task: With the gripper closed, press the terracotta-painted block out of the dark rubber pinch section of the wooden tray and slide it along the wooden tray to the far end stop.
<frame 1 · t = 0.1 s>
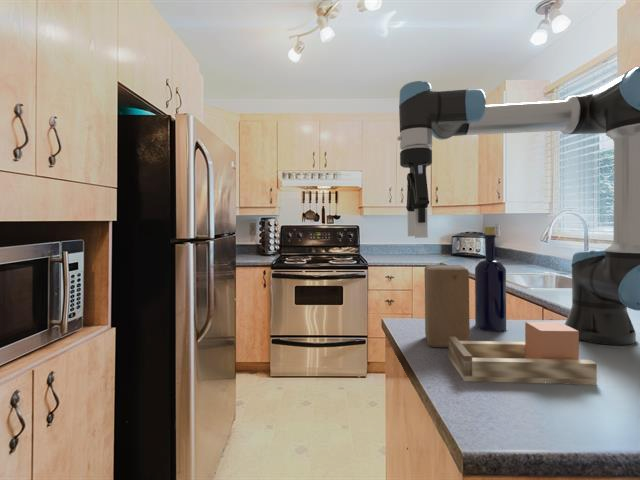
hand: (416, 237, 90), 28 cm above the table, fingers open, 13 cm apart
wooden tray: (515, 369, 77), on the table
terracotta block: (550, 345, 76), point 5 cm above the table, slide at 0.0 cm
wooden block: (446, 343, 96), on the table
bottle: (490, 328, 109), on the table
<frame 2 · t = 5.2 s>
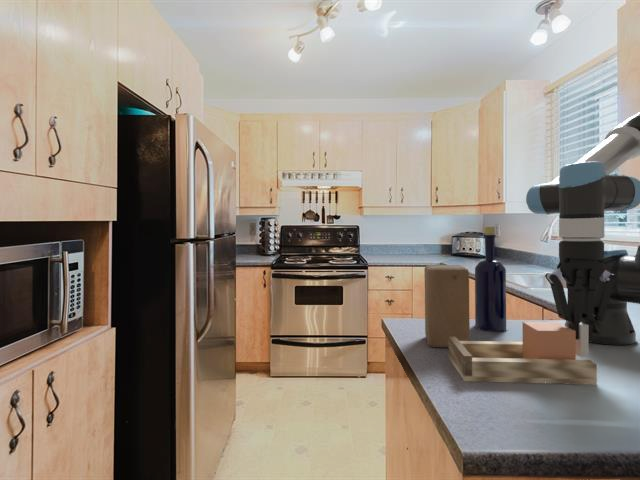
hand: (580, 354, 75), 4 cm above the table, fingers closed
terracotta block: (547, 345, 76), point 5 cm above the table, slide at 0.6 cm, touching gripper
everything else where it was.
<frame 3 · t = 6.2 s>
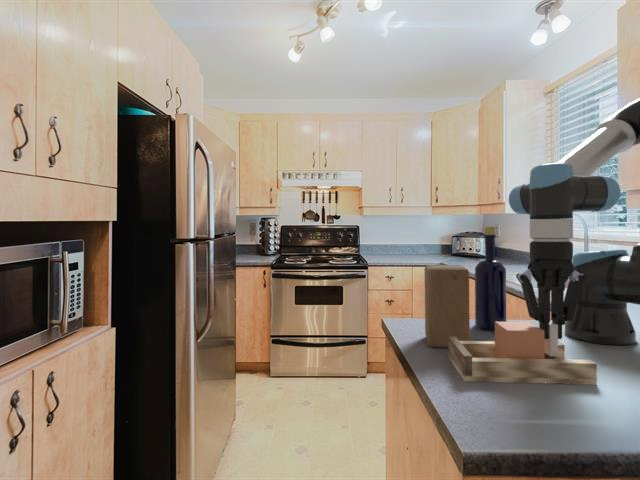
hand: (550, 354, 76), 4 cm above the table, fingers closed
terracotta block: (518, 344, 77), point 5 cm above the table, slide at 6.3 cm, touching gripper
everything else where it was.
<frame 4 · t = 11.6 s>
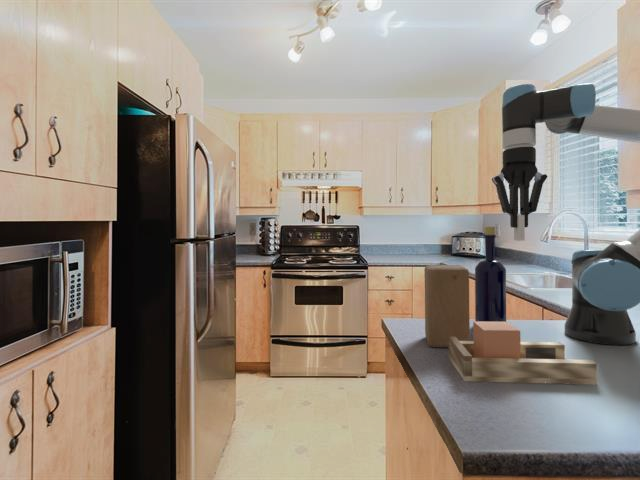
hand: (519, 240, 95), 26 cm above the table, fingers closed
terracotta block: (495, 344, 77), point 5 cm above the table, slide at 10.8 cm
everything else where it was.
at the end: terracotta block slide at 10.8 cm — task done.
